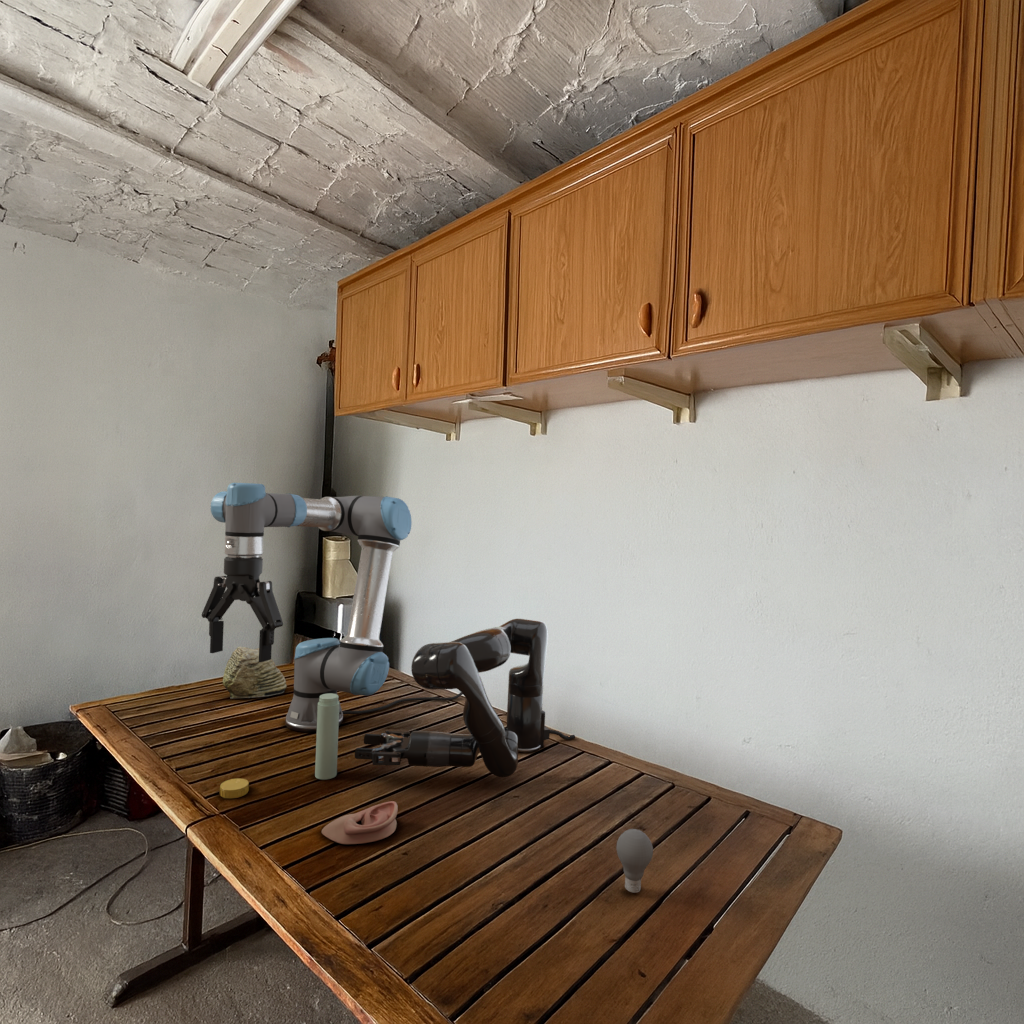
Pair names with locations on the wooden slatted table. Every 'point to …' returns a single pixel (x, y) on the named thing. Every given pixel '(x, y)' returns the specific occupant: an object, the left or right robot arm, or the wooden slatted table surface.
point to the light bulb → (634, 857)
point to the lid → (234, 788)
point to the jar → (327, 736)
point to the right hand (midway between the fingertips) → (359, 745)
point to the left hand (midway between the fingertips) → (240, 656)
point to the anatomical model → (364, 825)
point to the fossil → (252, 675)
